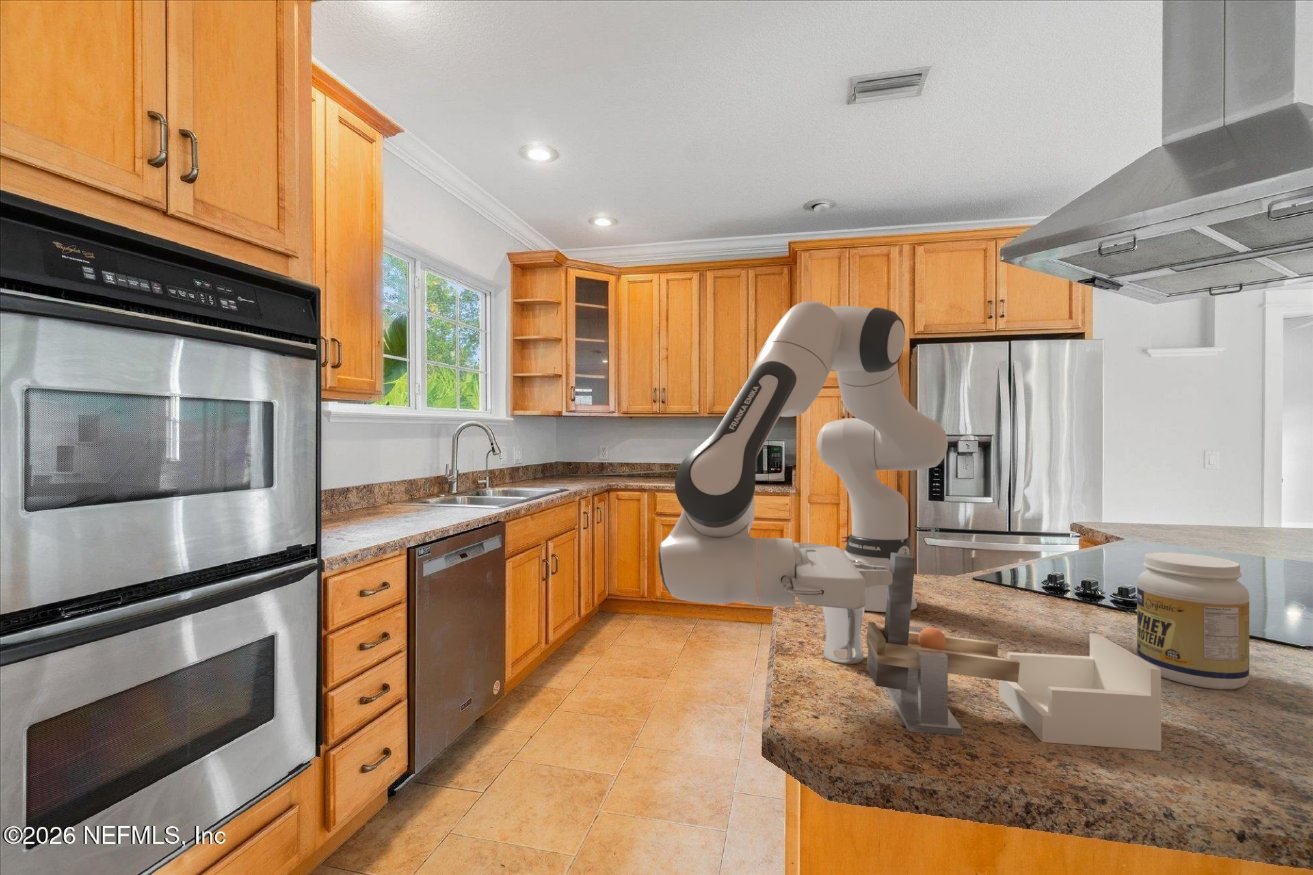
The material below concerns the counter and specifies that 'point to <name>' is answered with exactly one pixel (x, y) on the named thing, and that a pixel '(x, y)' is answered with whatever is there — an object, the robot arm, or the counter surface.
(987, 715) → the counter surface
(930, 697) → the fulcrum
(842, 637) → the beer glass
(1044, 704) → the cream open-top tray
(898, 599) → the lever
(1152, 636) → the supplement tub
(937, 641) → the ball
